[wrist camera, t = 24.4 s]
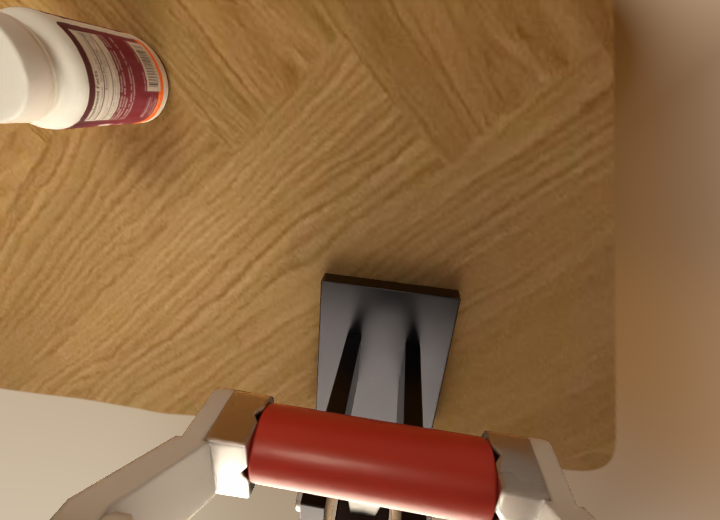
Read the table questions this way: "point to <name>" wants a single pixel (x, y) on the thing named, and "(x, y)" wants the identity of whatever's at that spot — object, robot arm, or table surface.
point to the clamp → (380, 358)
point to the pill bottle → (75, 73)
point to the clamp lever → (374, 464)
